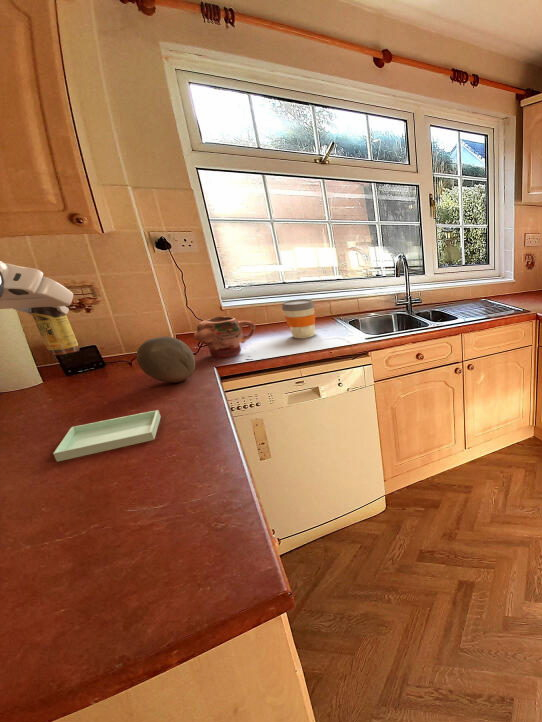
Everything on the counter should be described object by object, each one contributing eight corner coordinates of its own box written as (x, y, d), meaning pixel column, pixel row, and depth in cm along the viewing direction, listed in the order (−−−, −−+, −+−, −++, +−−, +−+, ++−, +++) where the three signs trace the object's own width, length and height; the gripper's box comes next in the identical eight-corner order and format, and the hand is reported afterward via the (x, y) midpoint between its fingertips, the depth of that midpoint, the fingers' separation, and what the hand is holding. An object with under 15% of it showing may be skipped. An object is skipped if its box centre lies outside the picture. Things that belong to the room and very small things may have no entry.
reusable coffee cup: (293, 332, 193) (286, 299, 187) (322, 330, 195) (316, 298, 189) (284, 340, 182) (276, 305, 176) (315, 338, 184) (308, 303, 178)
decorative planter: (255, 345, 175) (247, 311, 170) (264, 351, 167) (255, 316, 162) (198, 355, 163) (187, 320, 158) (204, 363, 154) (192, 325, 149)
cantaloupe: (199, 371, 146) (186, 329, 140) (201, 383, 135) (187, 338, 130) (147, 381, 138) (131, 336, 133) (145, 394, 128) (127, 346, 122)
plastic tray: (56, 461, 93) (52, 453, 92) (74, 434, 104) (71, 427, 104) (154, 439, 101) (151, 432, 100) (160, 416, 113) (158, 409, 112)
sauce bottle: (45, 355, 117) (10, 282, 110) (73, 349, 122) (42, 279, 115) (58, 357, 115) (24, 283, 107) (86, 350, 120) (55, 279, 113)
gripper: (-57, 293, 100) (5, 324, 113) (35, 289, 102) (86, 320, 114) (-45, 272, 103) (14, 304, 116) (45, 268, 104) (93, 301, 117)
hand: (51, 312), depth 115 cm, fingers closed on sauce bottle, 6 cm apart
